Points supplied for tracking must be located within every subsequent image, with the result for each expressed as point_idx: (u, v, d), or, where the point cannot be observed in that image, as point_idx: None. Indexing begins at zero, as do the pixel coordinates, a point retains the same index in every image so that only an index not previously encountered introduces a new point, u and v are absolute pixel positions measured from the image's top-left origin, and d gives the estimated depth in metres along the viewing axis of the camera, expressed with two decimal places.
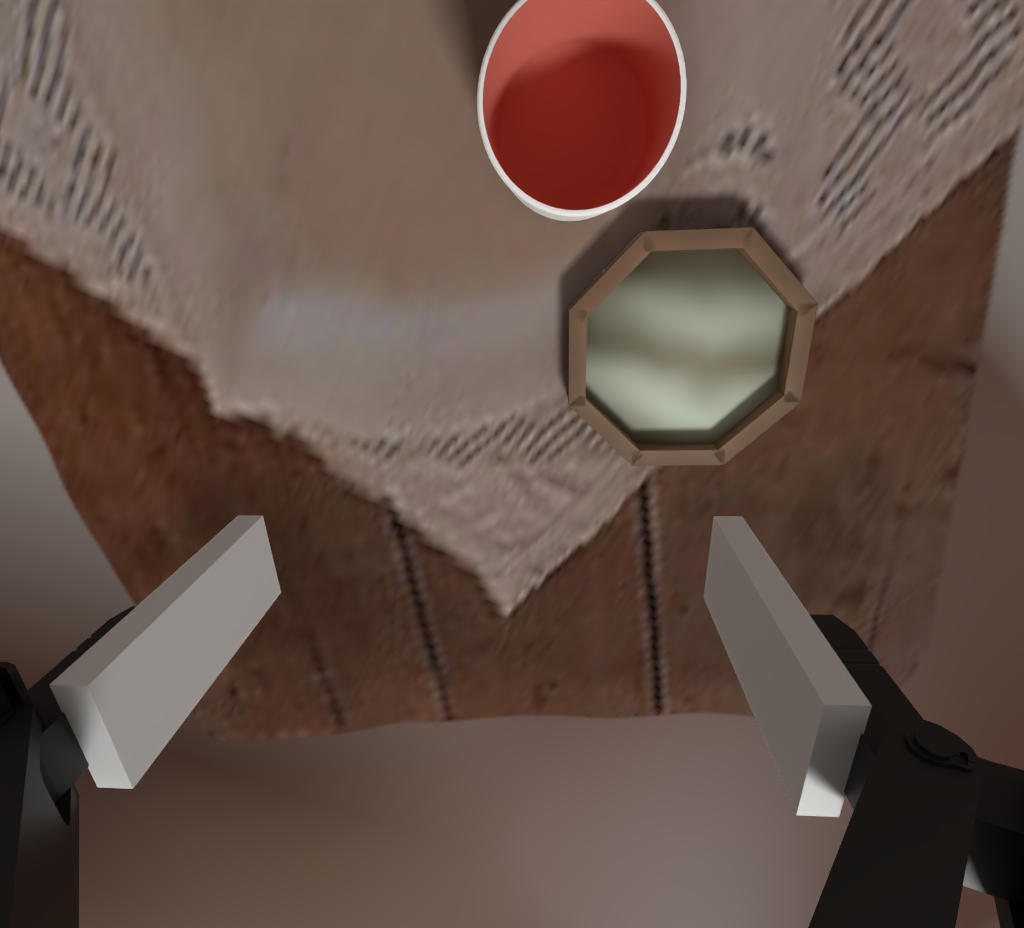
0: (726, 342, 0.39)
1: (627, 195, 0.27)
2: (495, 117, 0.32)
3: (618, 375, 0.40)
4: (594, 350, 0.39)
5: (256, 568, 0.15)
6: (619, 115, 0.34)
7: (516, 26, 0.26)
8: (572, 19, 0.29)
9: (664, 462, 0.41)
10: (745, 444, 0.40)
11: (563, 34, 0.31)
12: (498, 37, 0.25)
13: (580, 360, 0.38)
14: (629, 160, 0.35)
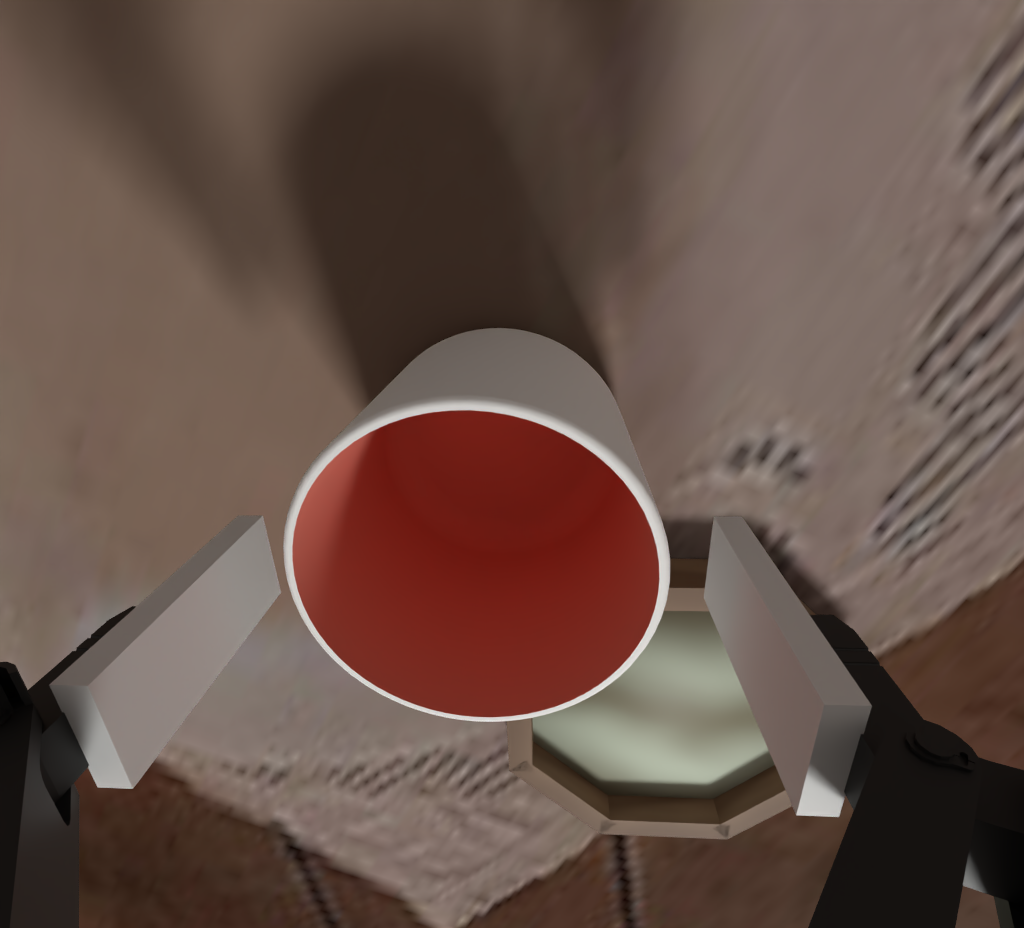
0: (733, 695, 0.27)
1: (566, 704, 0.15)
2: (368, 460, 0.20)
3: (580, 724, 0.28)
4: None
5: (256, 568, 0.15)
6: None
7: None
8: None
9: (645, 833, 0.29)
10: (758, 820, 0.28)
11: None
12: (310, 487, 0.13)
13: (523, 724, 0.27)
14: (589, 477, 0.23)
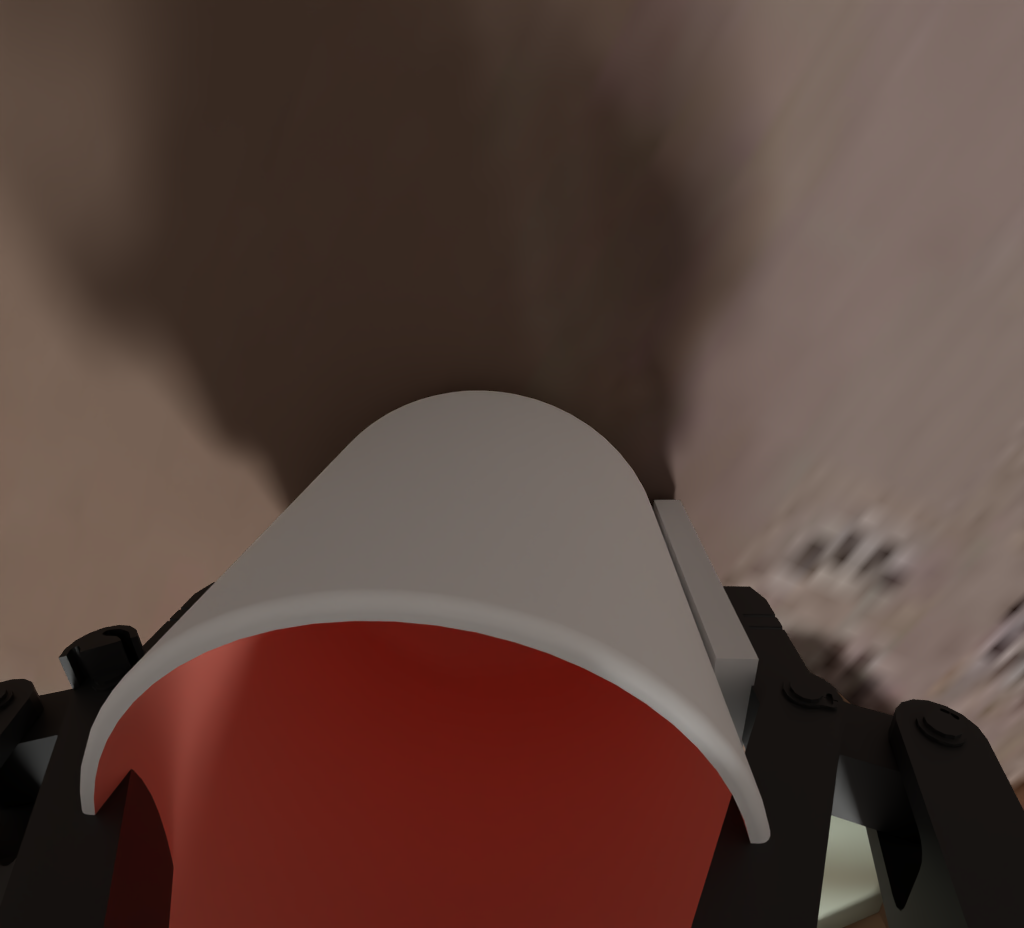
0: None
1: None
2: None
3: None
4: None
5: None
6: None
7: None
8: None
9: None
10: None
11: None
12: (114, 730, 0.07)
13: None
14: None
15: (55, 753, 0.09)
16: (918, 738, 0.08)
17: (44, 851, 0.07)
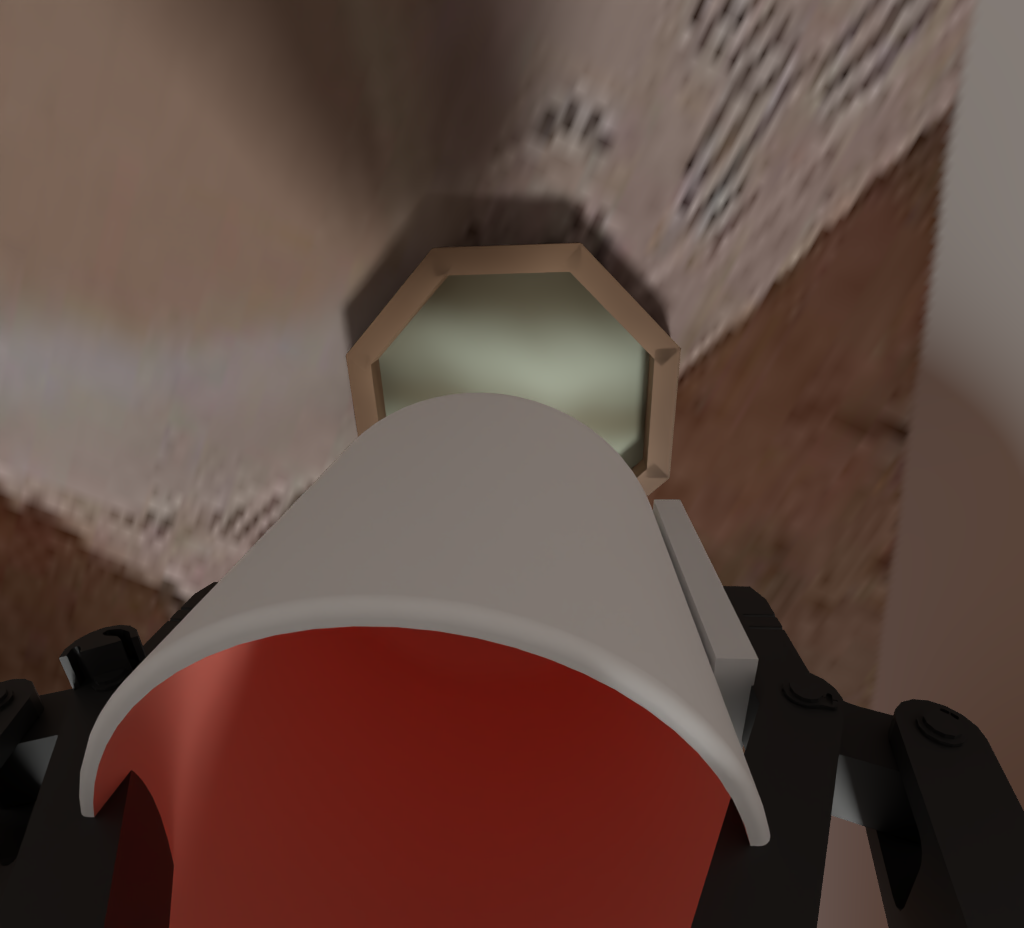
0: (569, 396, 0.29)
1: None
2: None
3: None
4: (396, 406, 0.29)
5: None
6: None
7: None
8: None
9: None
10: None
11: None
12: (113, 734, 0.07)
13: (370, 421, 0.28)
14: None
15: (55, 753, 0.09)
16: (918, 738, 0.08)
17: (44, 851, 0.07)
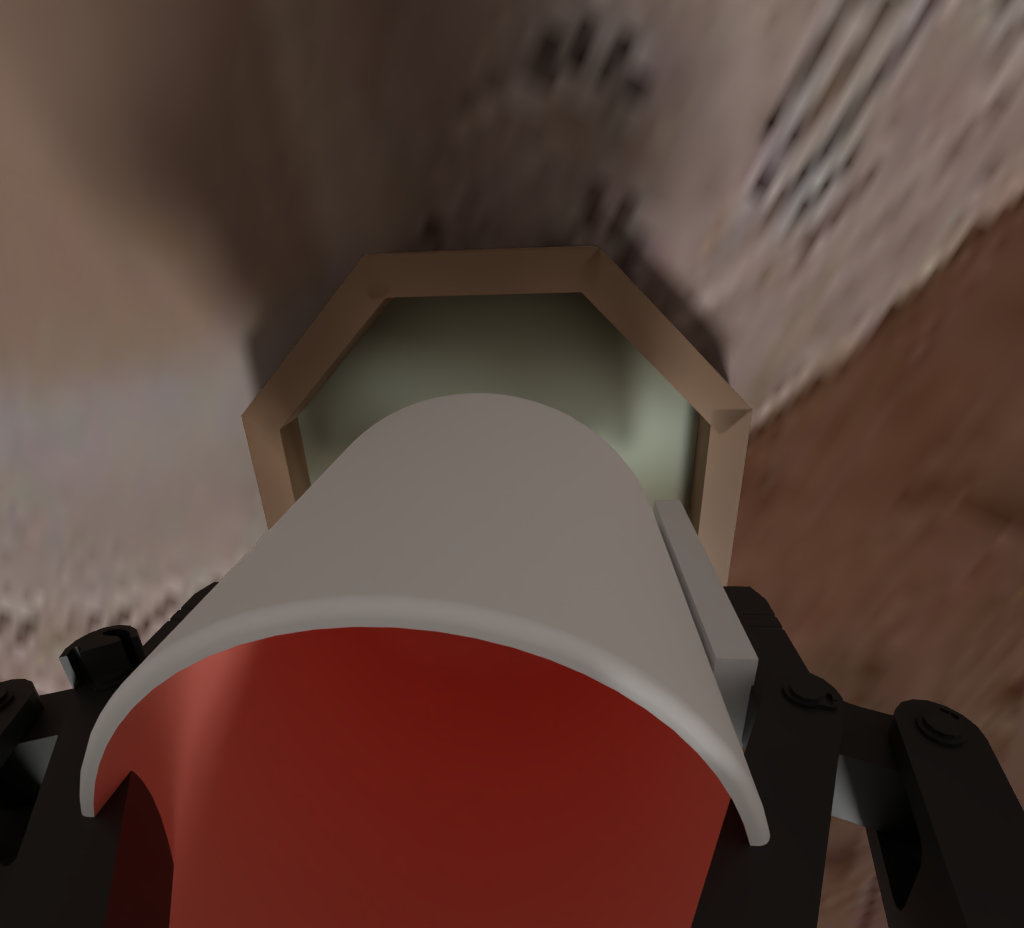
0: None
1: None
2: None
3: None
4: None
5: None
6: None
7: None
8: None
9: None
10: None
11: None
12: (114, 735, 0.07)
13: (285, 508, 0.19)
14: None
15: (55, 753, 0.09)
16: (918, 738, 0.08)
17: (44, 851, 0.07)
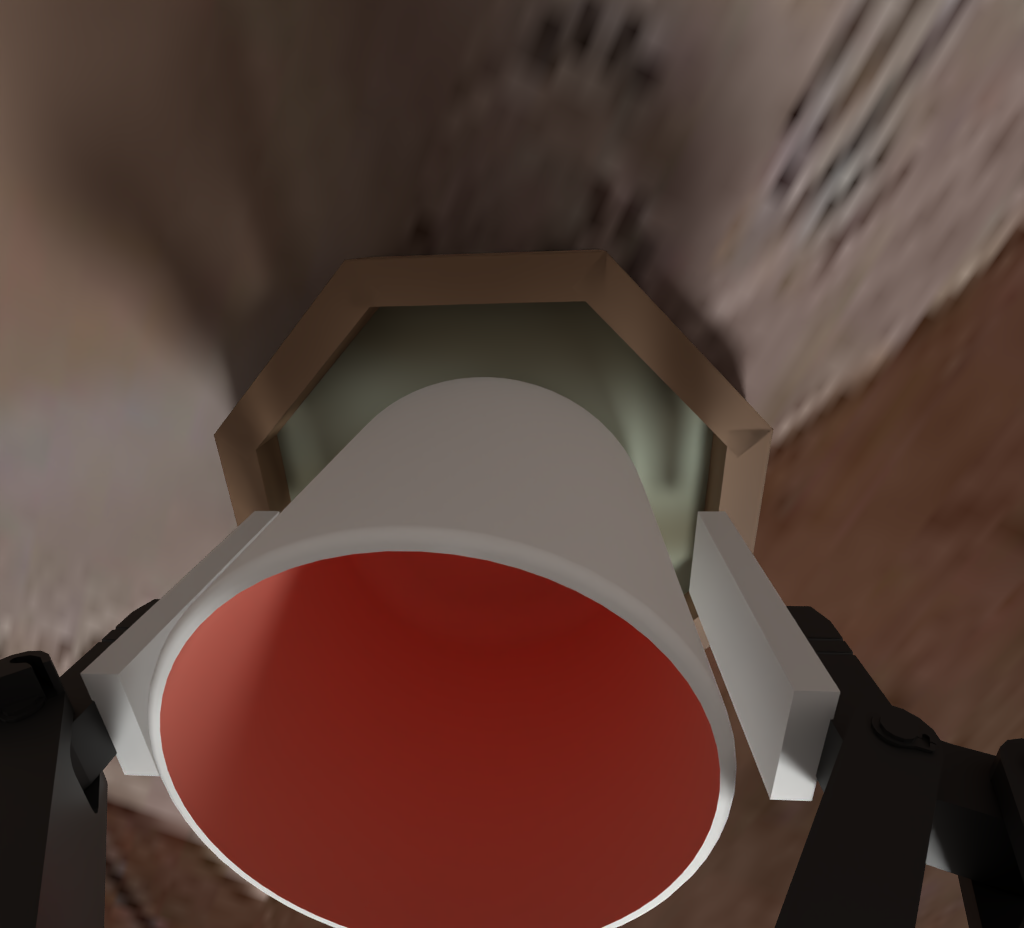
0: None
1: None
2: None
3: None
4: None
5: None
6: None
7: None
8: None
9: None
10: None
11: None
12: (180, 652, 0.09)
13: None
14: None
15: None
16: None
17: None
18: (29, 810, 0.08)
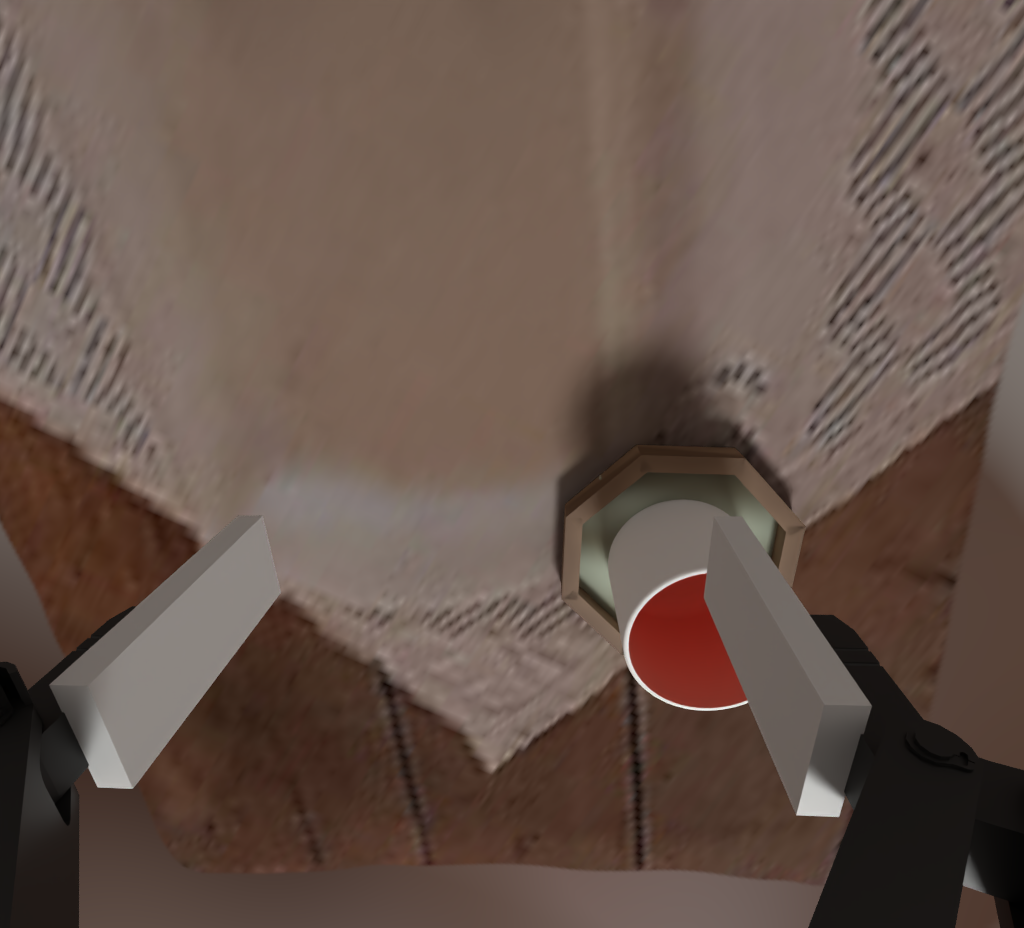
0: None
1: (744, 702, 0.32)
2: None
3: None
4: (588, 547, 0.40)
5: (256, 568, 0.15)
6: None
7: None
8: None
9: None
10: None
11: None
12: (648, 598, 0.30)
13: (574, 560, 0.39)
14: None
15: None
16: None
17: None
18: None
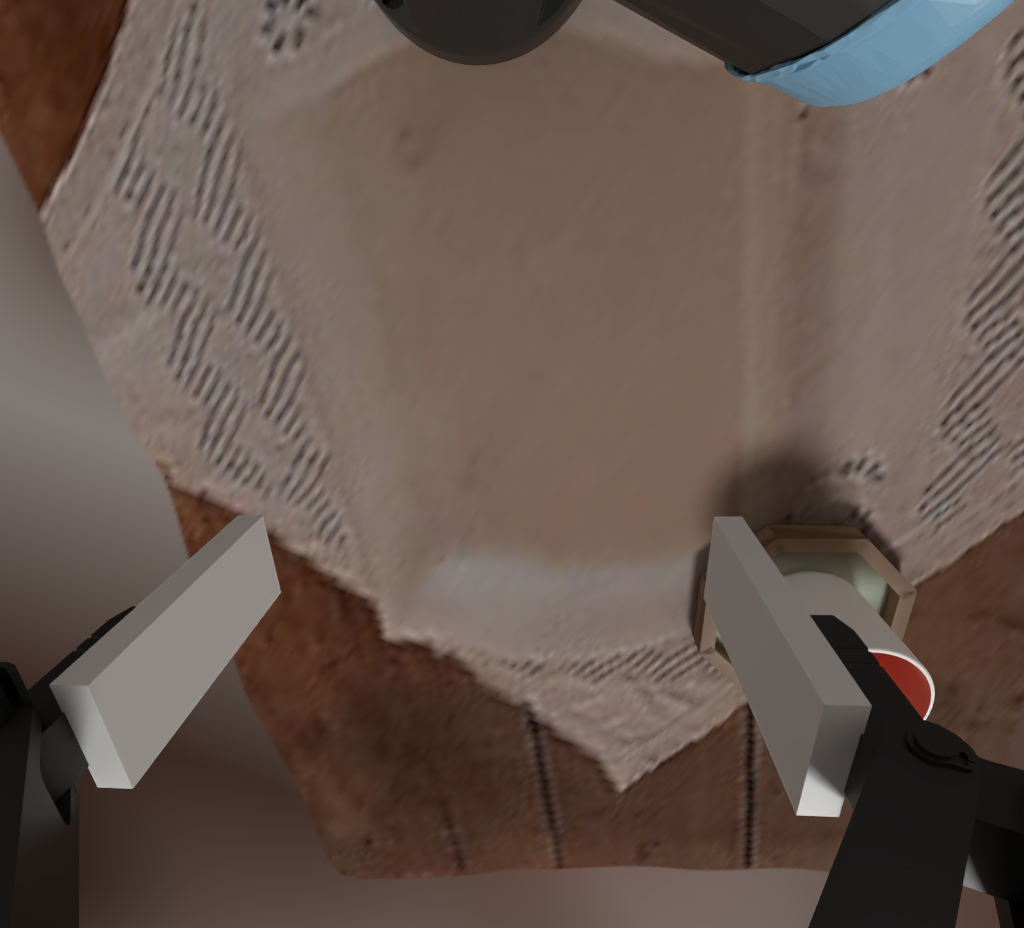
0: None
1: None
2: None
3: None
4: None
5: (256, 568, 0.15)
6: None
7: None
8: None
9: None
10: None
11: None
12: None
13: (713, 623, 0.46)
14: None
15: None
16: None
17: None
18: None
